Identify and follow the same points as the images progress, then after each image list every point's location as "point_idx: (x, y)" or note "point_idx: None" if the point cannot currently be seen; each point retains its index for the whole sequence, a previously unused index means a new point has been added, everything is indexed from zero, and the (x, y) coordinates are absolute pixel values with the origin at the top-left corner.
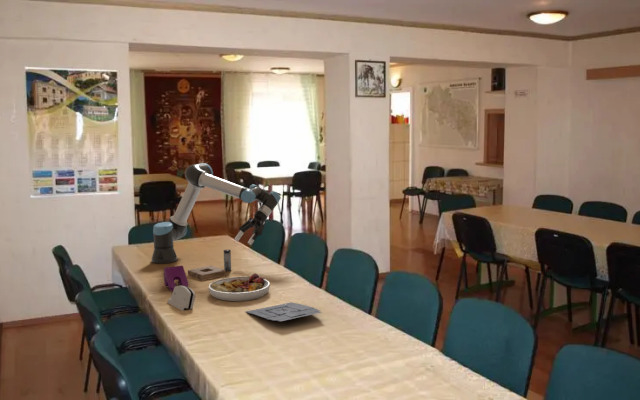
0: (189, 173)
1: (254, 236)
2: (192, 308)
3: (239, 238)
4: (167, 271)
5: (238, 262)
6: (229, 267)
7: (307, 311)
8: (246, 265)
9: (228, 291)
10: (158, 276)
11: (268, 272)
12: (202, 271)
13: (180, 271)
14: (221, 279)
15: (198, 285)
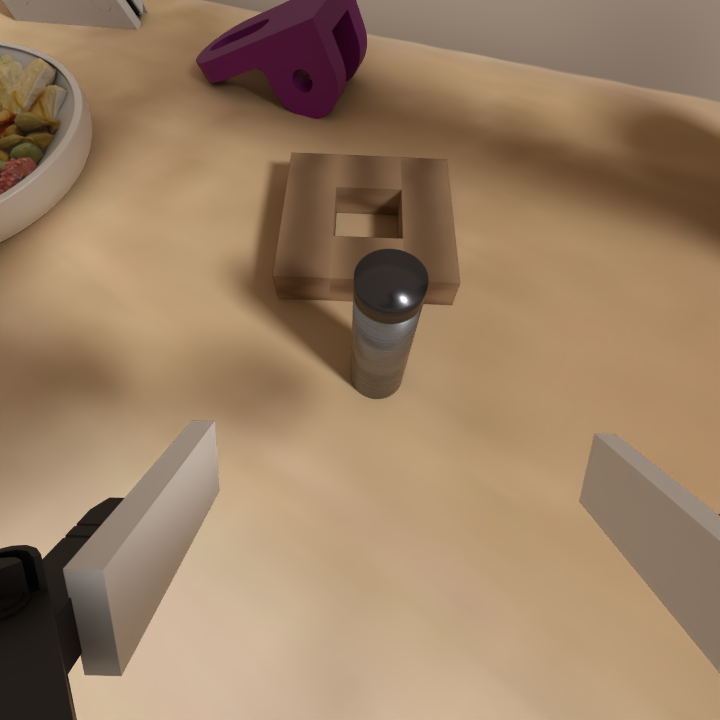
0: None
1: (80, 541)
2: (15, 18)
3: (620, 537)
4: None
5: (575, 613)
6: (351, 360)
7: None
8: (417, 593)
9: None
10: (514, 113)
11: None
12: (359, 187)
13: (283, 23)
14: (70, 124)
15: (235, 137)
